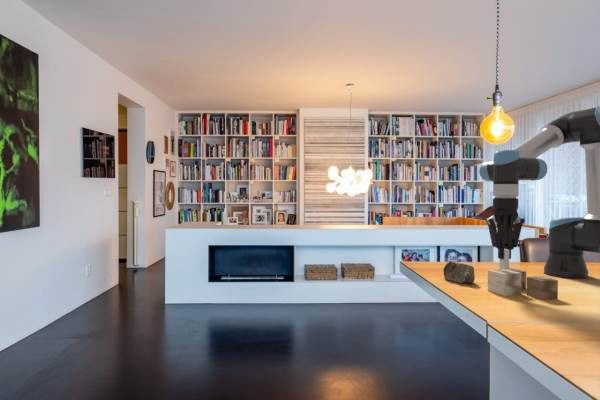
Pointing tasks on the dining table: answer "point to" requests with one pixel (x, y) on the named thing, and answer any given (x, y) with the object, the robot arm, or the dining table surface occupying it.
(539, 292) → the marked block left
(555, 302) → the dining table surface
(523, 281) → the marked block near
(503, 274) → the plain block
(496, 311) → the dining table surface
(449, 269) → the stone
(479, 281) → the dining table surface
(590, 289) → the dining table surface
